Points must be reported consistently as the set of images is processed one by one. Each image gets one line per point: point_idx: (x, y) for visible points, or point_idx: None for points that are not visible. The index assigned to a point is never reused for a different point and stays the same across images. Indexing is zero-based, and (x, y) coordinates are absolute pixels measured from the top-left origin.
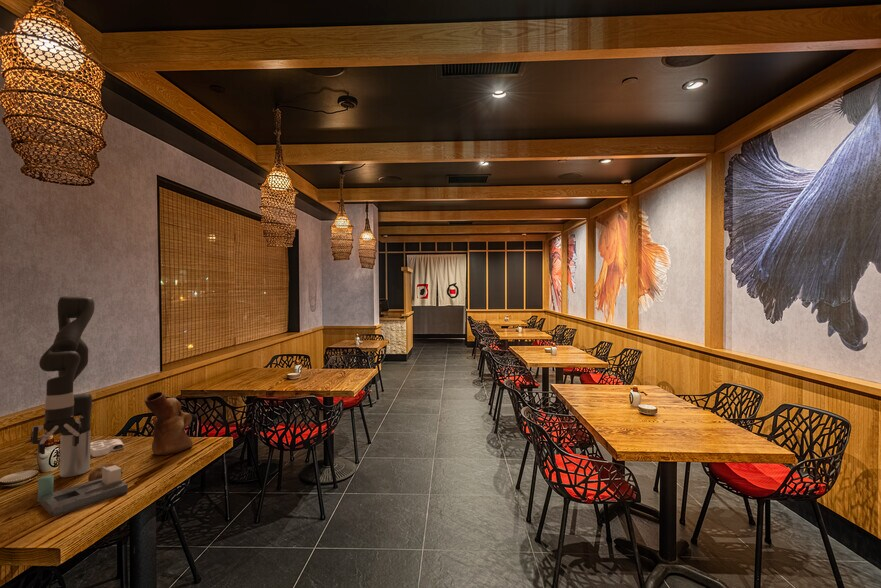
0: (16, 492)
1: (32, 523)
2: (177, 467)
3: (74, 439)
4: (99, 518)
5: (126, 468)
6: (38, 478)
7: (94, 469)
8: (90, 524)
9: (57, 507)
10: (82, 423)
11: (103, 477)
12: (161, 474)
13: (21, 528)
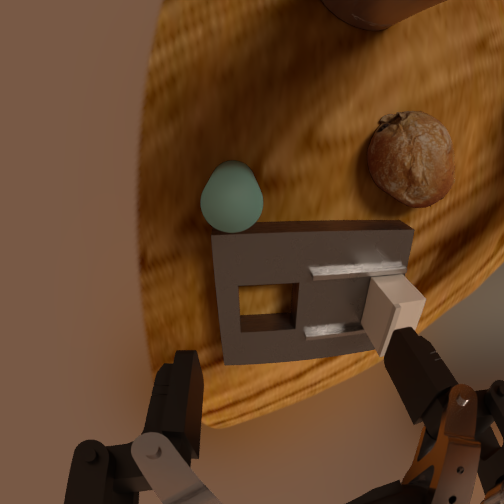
0: (181, 14)
1: (186, 340)
2: (487, 264)
3: (406, 406)
4: (282, 404)
5: (459, 130)
6: (203, 191)
7: (405, 160)
8: (265, 411)
9: (232, 364)
10: (491, 486)
11: (376, 300)
12: (458, 279)
13: (168, 346)
